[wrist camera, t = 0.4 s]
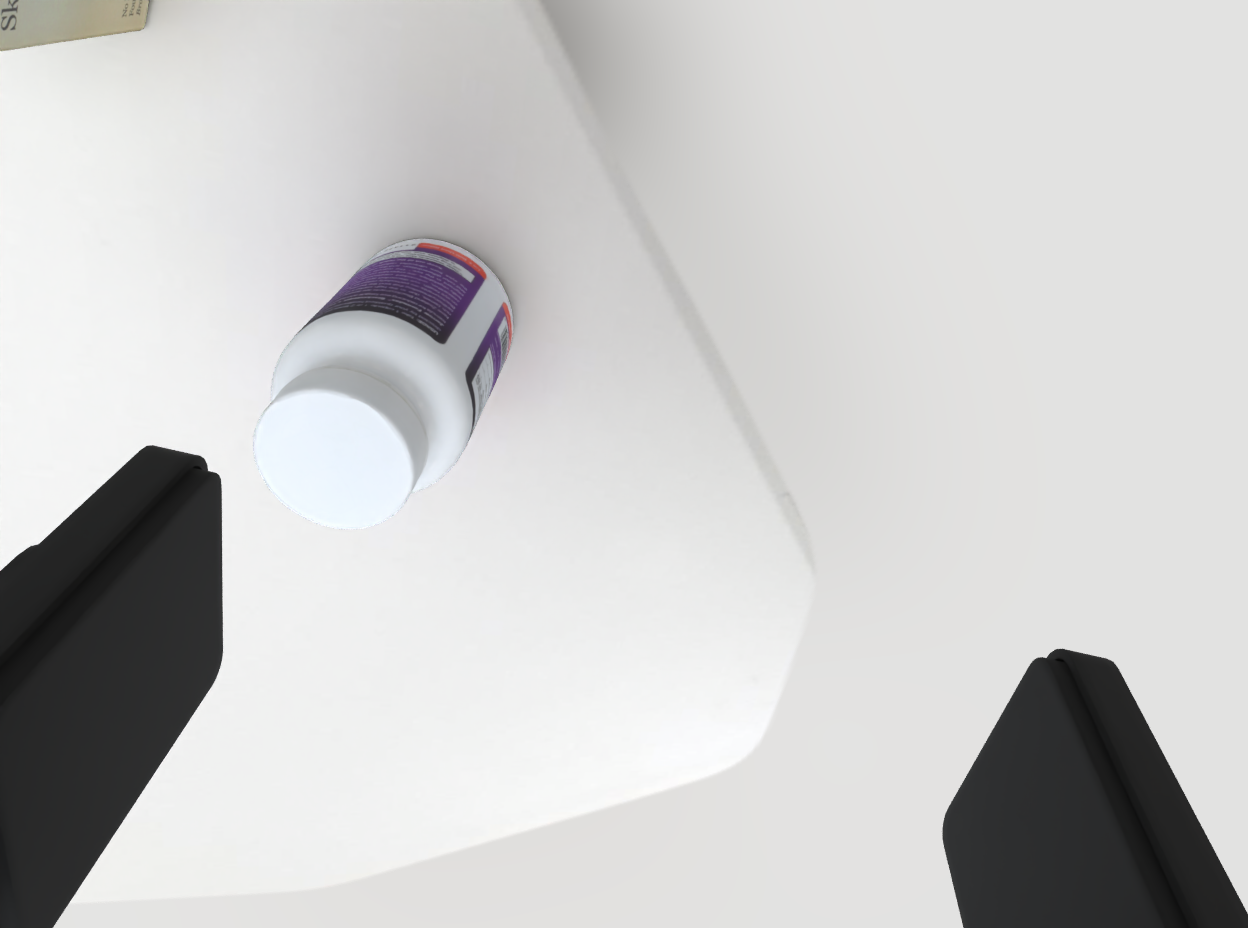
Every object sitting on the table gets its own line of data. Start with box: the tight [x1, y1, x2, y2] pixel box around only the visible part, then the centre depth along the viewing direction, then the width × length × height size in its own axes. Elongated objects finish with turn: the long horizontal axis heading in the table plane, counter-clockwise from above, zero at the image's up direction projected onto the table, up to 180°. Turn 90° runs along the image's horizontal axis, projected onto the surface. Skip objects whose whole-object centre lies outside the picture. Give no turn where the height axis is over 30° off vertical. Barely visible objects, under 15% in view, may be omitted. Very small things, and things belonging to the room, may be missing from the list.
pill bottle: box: [253, 239, 514, 529], centre depth 27 cm, size 5×5×10 cm
